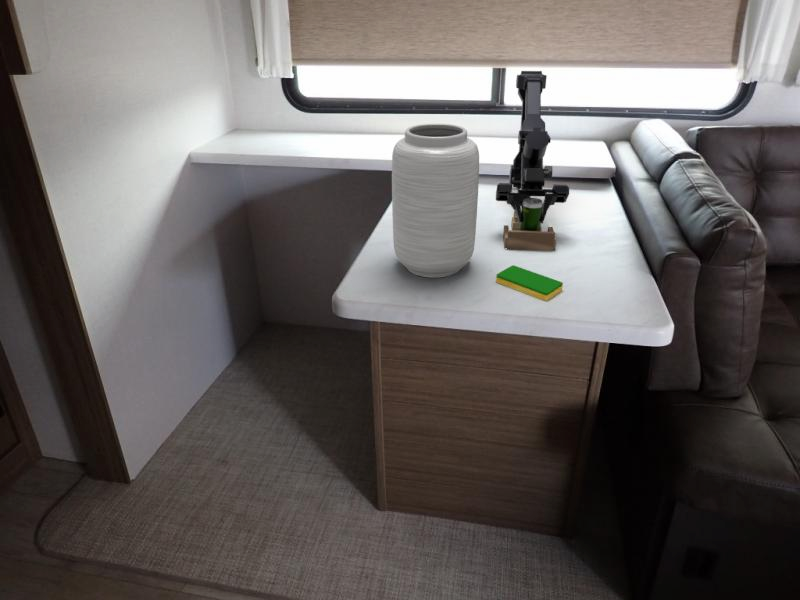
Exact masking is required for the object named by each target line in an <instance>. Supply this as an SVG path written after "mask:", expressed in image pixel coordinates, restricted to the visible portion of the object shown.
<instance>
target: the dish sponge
mask: <svg viewBox="0 0 800 600" xmlns="http://www.w3.org/2000/svg"><path fill="white" fill-rule="evenodd" d="M495 279H496V280H495V283H497V284H500V285H503V286H505V287H506V288H507V287H508V288H510V289H512V290H516V291H518V292H521V293H524V294H527V295H528V296H531V297H534V298H537V299H539V300H542V301H547V302H548V301H549V300H551V299H552V298H553V297H555V296H556V295H557V294H559V293H560V292H562V291H563V284H564V283H563V282H562V281H559V280H557V279H554V278H550V277H548V276H546V275H542V274H541V273H540V274H539V273H537V272H534V271H531V270H529V269H526V268H522V267H520V266H517V265H511V266H508V267H507V268H505V269H504V270H501V271H500V272H498V273H497V274H496V278H495Z"/></svg>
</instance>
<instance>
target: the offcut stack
mask: <svg viewBox="0 0 800 600" xmlns="http://www.w3.org/2000/svg"><path fill="white" fill-rule="evenodd" d="M510 227H511V228H510V229H511V230H516V231H520V223H519V220H518V218H517V216H516V213H515V211H513V216H512V217H511V226H510ZM540 231H542V226H541V227H540Z"/></svg>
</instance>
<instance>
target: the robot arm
mask: <svg viewBox="0 0 800 600" xmlns="http://www.w3.org/2000/svg"><path fill="white" fill-rule="evenodd" d="M547 78H548V77H547V74H544V73H543V72H542V70H521V72H520V74H517V75H516V79H515V81H516V82H515V83H516V84H515V87H516V89H517V95H518V97H519V99H520V100H521V101H520V102H521V103H522V104H521V116H520V117H521V119H520V130H518V135H517V136H518V137H517V144H518V145H519V146H518V152H517V154H516V155H515V157H514V159H513V162H512V165H510V169H509V179H508V181H509V182H507V183H506V182H499V183H498V184H497V185H496V191H495V200H496V201H497V202H506V204H507V205H511V206H510V207H512V209H513V210H514V211H515V213H516V216H517V218H518V220H519V223H521V210H522V203H523V200H524V199H526V198H531V197H544V199H543V202H542V204H543V210H542V218H541V224H543V223H544V222H545V218H546V216H547V213H548V210H549V209H550V206H553V205H555V204H556V203H560V204H563V203H567V200H568V197H569V195H570V186H568V185H567V184H557V183H554V184H553V186H552V188H544V187H545V180H552V179H553V165H545V166H544V157H545V155H546V151H547V148H548V146H549V144H551V140H552V139H551V137H550V135H549V133H548V131H547V130H546V122H545V120H543V118H542V115H541V112H542V111H541V106H542V103H541V101H542V99H541V97H542V93H543V90H544V89H546V87H547ZM514 211H513V212H514Z"/></svg>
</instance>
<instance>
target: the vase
mask: <svg viewBox="0 0 800 600" xmlns="http://www.w3.org/2000/svg"><path fill="white" fill-rule="evenodd" d="M479 180H480V153H479V147H478V145H477V143H476V142H475V141H474V140H472V139H471V138H469V137H468V130H467V129H466V128H464V127H463V126H460V125H456V124H449V123H423V124H416V125H412V126H409V127H407V128H406V129H405V131H404V137H403V138H401V139H400V140H398V141H397V142H396V143H395V145H394V146H393V151H392V157H391V204H392V205H391V206H392V207H391V208H392V209H391V210H392V211H391V212H392V241H393V250H394V254H395V256H396V258H397V260H398V261H399V263H401V264H402V265H403V266H404V267H405V268H406V269H407V271H408V272H410V273H412V274H413V275H416V276H420V277H423V278H430V279H432V278H433V279H434V278H437V279H438V278H446V277H449V276H452V275H455V274H458V272H459V271H460V270H461V269H462V268H463V267H464V266H465V265H467V264H468V263H469V261H470V260H471V259H472V257H473V254H474V251H475V244H476V243H475V242H476V232H477V217H478V203H479V199H478V198H479V183H480V182H479Z"/></svg>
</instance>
